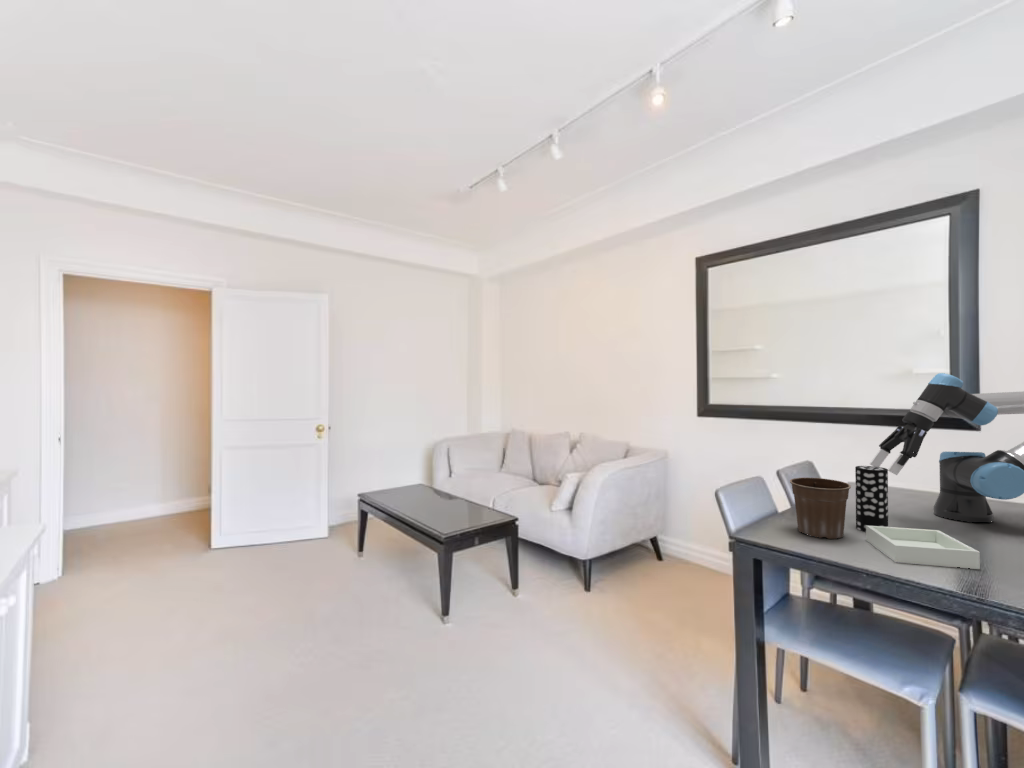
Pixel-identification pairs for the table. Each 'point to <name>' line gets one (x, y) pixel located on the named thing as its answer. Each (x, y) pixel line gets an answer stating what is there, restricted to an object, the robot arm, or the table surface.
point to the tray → (922, 547)
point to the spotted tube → (871, 497)
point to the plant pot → (820, 506)
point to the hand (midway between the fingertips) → (882, 469)
